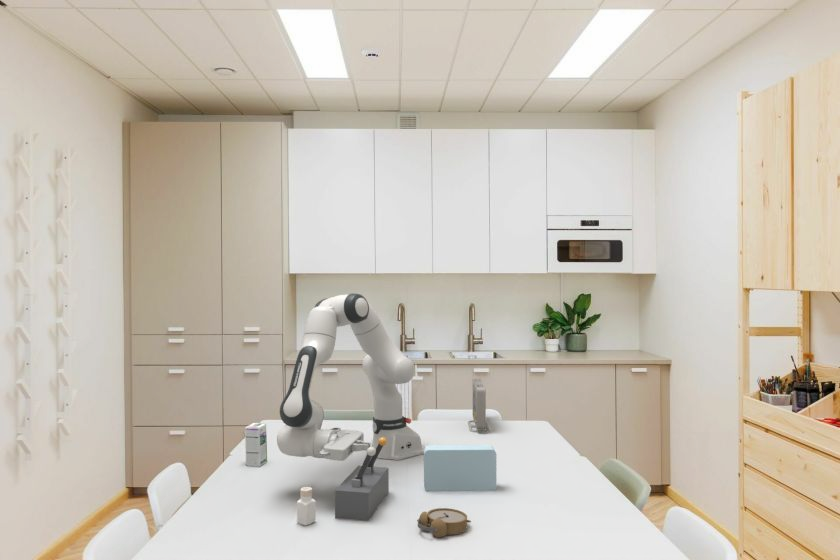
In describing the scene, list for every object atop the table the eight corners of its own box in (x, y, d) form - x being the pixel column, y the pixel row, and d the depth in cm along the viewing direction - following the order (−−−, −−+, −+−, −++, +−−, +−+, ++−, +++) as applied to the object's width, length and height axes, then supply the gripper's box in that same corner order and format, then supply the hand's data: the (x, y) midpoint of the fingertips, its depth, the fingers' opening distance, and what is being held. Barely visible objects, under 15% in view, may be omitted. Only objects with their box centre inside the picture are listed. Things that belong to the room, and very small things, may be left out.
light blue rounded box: (493, 484, 194) (493, 444, 194) (496, 490, 188) (496, 449, 188) (423, 484, 194) (423, 444, 194) (424, 491, 188) (424, 450, 188)
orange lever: (363, 469, 181) (379, 436, 180) (365, 466, 184) (382, 434, 183) (370, 473, 181) (387, 441, 180) (372, 471, 183) (389, 438, 182)
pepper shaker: (307, 518, 167) (307, 485, 167) (316, 521, 165) (316, 488, 165) (296, 522, 164) (295, 489, 164) (305, 526, 162) (305, 492, 162)
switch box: (335, 518, 167) (334, 483, 167) (358, 490, 189) (358, 459, 189) (368, 521, 165) (368, 485, 165) (388, 492, 187) (388, 461, 187)
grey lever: (351, 482, 171) (367, 446, 169) (354, 479, 173) (370, 444, 172) (359, 486, 170) (375, 451, 169) (362, 483, 173) (378, 448, 172)
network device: (490, 434, 254) (490, 388, 254) (470, 434, 254) (470, 388, 254) (485, 419, 279) (485, 378, 279) (466, 419, 279) (466, 378, 279)
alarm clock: (476, 518, 161) (435, 522, 152) (474, 536, 160) (432, 542, 151) (450, 505, 169) (409, 508, 160) (447, 523, 169) (406, 527, 160)
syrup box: (260, 467, 212) (259, 427, 212) (245, 466, 213) (244, 426, 213) (267, 462, 217) (267, 423, 217) (252, 461, 219) (252, 422, 218)
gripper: (314, 443, 175) (359, 446, 172) (337, 426, 195) (377, 428, 192) (314, 464, 175) (359, 467, 172) (337, 444, 195) (377, 447, 192)
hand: (369, 446), depth 182 cm, fingers closed
